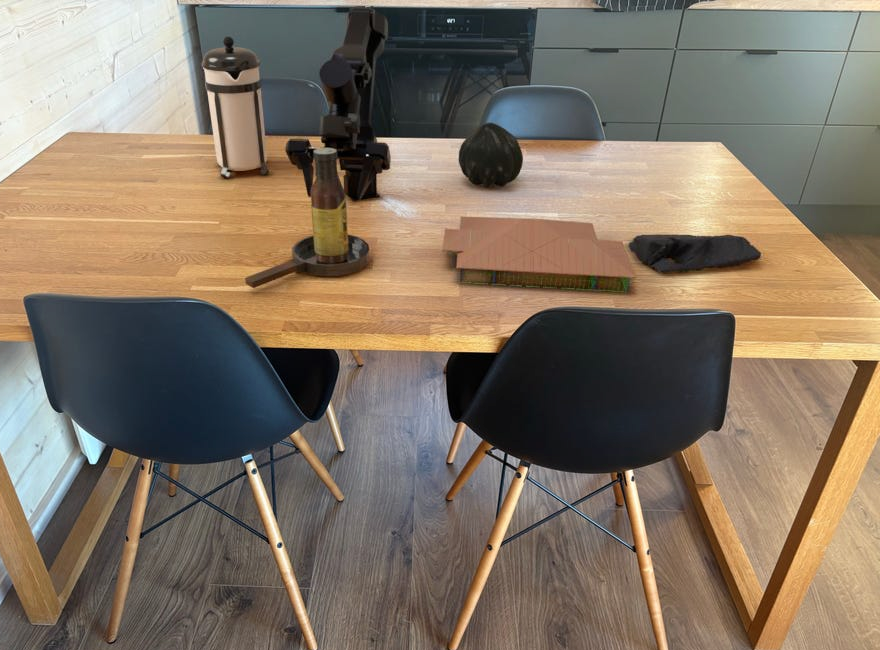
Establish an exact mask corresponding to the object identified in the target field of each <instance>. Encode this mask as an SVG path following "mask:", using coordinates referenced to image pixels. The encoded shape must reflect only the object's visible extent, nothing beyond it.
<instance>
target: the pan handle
mask: <svg viewBox="0 0 880 650" xmlns="http://www.w3.org/2000/svg"><path fill="white" fill-rule="evenodd" d="M305 272H306V269H305V262H303V261H301V260H299V259H297V258H295V259H293V258H291V259H290V260H288V261H286V262H283V263H281V264H278V265H275V266H273V267H272V266H271V267H269V268H267V269H264V270H262V271H259V272H257V273H255V274H254V273H253V274H251V275H248V276H246V277H245V278H244V281H245V285H246V286H249V287H250V288H252V289H255V288H258V287H260V286H263V285H265V284H268V283H271V282H274V281H276V280H278V279H281V278H284V277H286V276H288V275H291V274H293V273H295V274H298V275H301V274H303V273H305Z"/></svg>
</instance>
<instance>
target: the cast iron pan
mask: <svg viewBox="0 0 880 650" xmlns="http://www.w3.org/2000/svg"><path fill="white" fill-rule="evenodd" d="M291 253H292V254H291V255H292V259H295V258H297V259H299V260H301V261H303V262H305V269H306V272H304V273H306V274H310V275H313V276H319V277H341V276H346V275H350V274H353V273H355V272H358V271H360V270H362V269H364V268H365V267H366V266H367V265H368V264H369V262H370V259H371V258H370V257H371V256H370V254H371V252H370V245H369V243H368V242H366V240H364V239H363V238H361V237H358V236H356V235H352V234H349V233H348V257H347V259H346V260H345V261H343V262H341V263H338V264H323V263H321V262H319V261H318V260H317V259H316V252H315V250H314V237H313V235H309V236H306V237H304V238H301V239H299V240H298V241H296V242H295V243H294V245H293V246H292V247H291Z"/></svg>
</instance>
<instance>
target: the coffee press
mask: <svg viewBox="0 0 880 650" xmlns="http://www.w3.org/2000/svg"><path fill="white" fill-rule="evenodd" d="M222 43H223V45H224V46H225V47H218V48H213V49H211V50H209V51H208V52H206V53H205V54H204V56H203V60H202V61H201V68H202V69H203V71H204V84H205V90H206V92H207V99H208V106H209V114H210V115H209V116H210V121H211V127H212V129H211V130H212V137H213V143H214V151H215V157H216V162H217V165H218V166H219V167H221V172H220V177H221V178H222V179H229V178H230V176H231V174H232V172H233V171H234V172H235V171H236V172H244V171H251V170H257V171H259V172H260V174H261V175H262V176H266V175H268V174H270V168H269V167H268V166H267V164H266V163H267V161H268V156H267V155H268V153H267V152H268V151H267V142H266V141H267V140H266V131H265V130H266V129H265V121H264V110H263V101H262V89H261V88H262V80H261V76H260V69H259V68H260V65H261V61H260V59H258V57H257V55H256V53H255V52H253V50H250V49H249V48H245V47H240V46H239V47H238V46H237V47H236V46H234V43H235V41H234V39H233V37H231V36H225V37H224V38H223V41H222Z"/></svg>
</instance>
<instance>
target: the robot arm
mask: <svg viewBox="0 0 880 650" xmlns="http://www.w3.org/2000/svg"><path fill="white" fill-rule="evenodd" d="M345 17H346V19H345V34H344V38H343V41H342V45H341V46H340V47H338V48H336V49H334V51H333V52H332V54H331V57H330V59H328V60H327V61H326V62H324V63H323V65H322V66H321V68H320V69H319V73H318V74H319V79H320V82H321V85H322V89H323V92H324V94H325V98H326V100H327V102H328V109H327V110H328V111H327V115H320V116H319V130H318V131H319V132H318V135H319V136H321V137H320V142H321V144H324V145H323V146H312V145H311V142H310V139H308V138H289V139H288V141H286V145H285V153H286V155H287V157H288V159H289V161H290V164H291V165H293V166H296V168H297V169H298V170H301V171H302V175H303V179H304V184H305V189H306V194H307V196H308V198H311V188H312V186H313V183H314V173H315V172H314V170H315V168H314V166H313V163H314V156H313V152H314V150H316V149H319V148H333V149H336V150H337V156H338V158H337V160H338V162H339V170H340V171H341V172H343V171H345V172H344V173H345V174H344V175H343V176H342V179H343V189H344V192H345V194H346V197H348V198H349V200H351V201H352V202H359V201H366V200H373V199H377V198H380V197H381V194H379V193H378V187H377V186H378V183H377V182H378V181H377V180H378V179H377V177H378V176H377V175H379V174H380V175H381V174H383V172H384V171H389V170H390V169H391V162H392V161H391V160H392V159H391V158H392V157H391V151H390V146H389V145H388V143H386V142H379V141H378V138H377V136H376V133H375V131H374V129H373V127H372V116H373V105H374V104H373V103H374V89H375V78H376V74H375V73H376V64H377V63H376V62H377V60H378V58H379V57H381V55H382V53H383V52H384V50H385V43H386V40H388V39H389V38H388V37H389V23H388V20H387V17H386V16H385V15H383V14H381V13H379V12H377V11H376V9H375V8H372V7H367V6H366V7H365V6H363V7H361V6H358V7H357V6H353V7H352V8H349V10H348V13H347V14H346V16H345Z"/></svg>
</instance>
